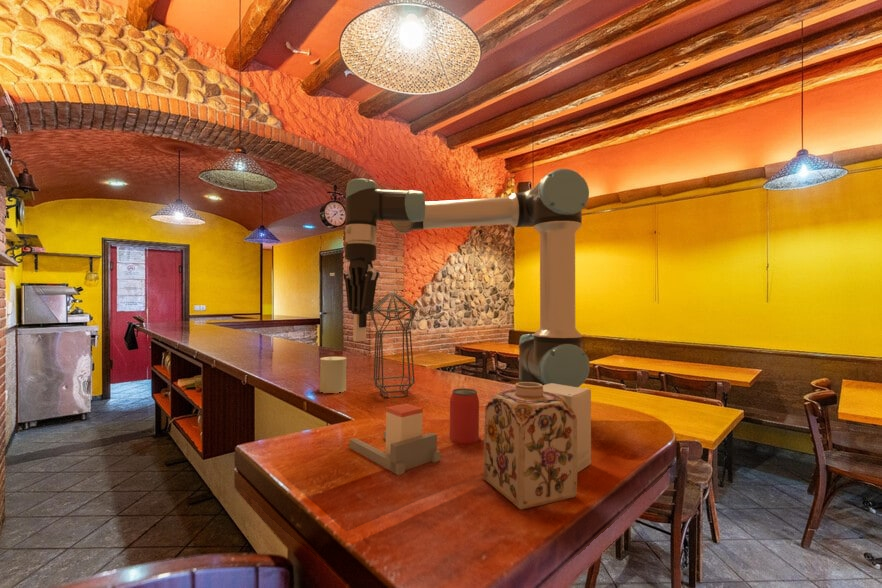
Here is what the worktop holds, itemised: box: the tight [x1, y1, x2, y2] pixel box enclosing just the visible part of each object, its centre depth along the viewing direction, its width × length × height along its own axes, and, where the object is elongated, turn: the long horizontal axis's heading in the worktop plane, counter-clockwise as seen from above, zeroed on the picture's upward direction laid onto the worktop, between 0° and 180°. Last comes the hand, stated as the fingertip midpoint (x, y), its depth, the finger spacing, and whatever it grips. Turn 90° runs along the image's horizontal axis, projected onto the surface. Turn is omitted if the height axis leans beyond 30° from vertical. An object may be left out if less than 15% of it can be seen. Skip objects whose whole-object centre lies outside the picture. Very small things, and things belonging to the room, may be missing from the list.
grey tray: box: [349, 429, 441, 476], centre depth 78 cm, size 20×12×6 cm, turn 42°
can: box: [318, 355, 348, 394], centre depth 140 cm, size 9×9×12 cm
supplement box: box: [543, 383, 592, 474], centre depth 78 cm, size 9×9×15 cm
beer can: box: [448, 387, 480, 444], centre depth 88 cm, size 7×7×12 cm
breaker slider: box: [385, 403, 424, 455], centre depth 76 cm, size 5×5×10 cm
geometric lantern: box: [369, 292, 420, 398], centre depth 135 cm, size 16×16×35 cm
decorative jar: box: [483, 381, 578, 510], centre depth 68 cm, size 12×12×18 cm
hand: (359, 340), depth 96 cm, fingers closed
